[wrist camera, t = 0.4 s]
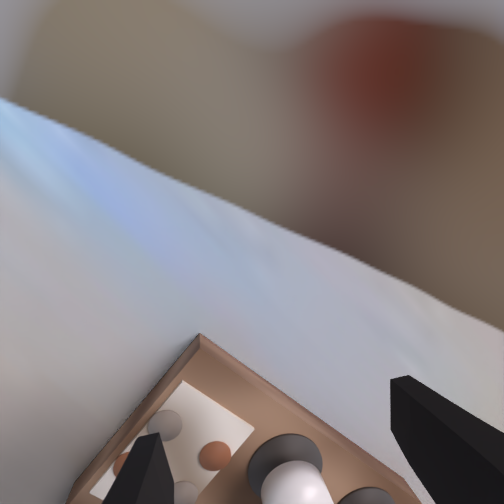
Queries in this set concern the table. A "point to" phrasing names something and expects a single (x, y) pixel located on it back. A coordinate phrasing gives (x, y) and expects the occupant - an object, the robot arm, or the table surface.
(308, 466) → the button
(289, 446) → the button board
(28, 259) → the table surface
